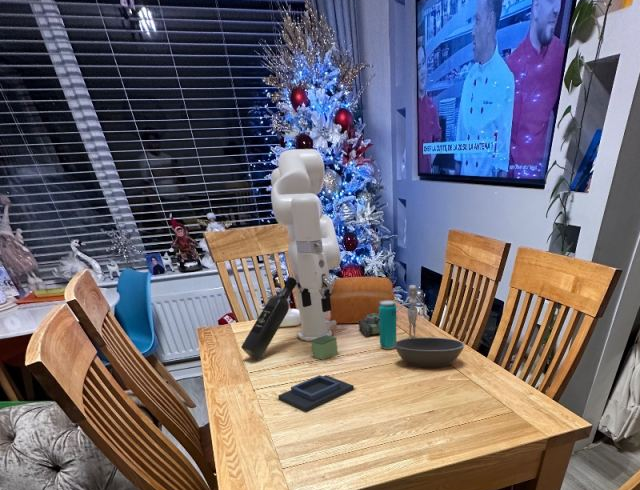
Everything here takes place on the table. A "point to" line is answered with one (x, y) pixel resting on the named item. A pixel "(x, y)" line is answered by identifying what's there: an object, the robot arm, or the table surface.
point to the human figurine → (412, 308)
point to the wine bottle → (268, 322)
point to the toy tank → (370, 324)
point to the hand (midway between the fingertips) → (317, 308)
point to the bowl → (429, 351)
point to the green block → (324, 347)
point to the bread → (358, 297)
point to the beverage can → (387, 324)
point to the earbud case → (291, 318)
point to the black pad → (315, 392)
